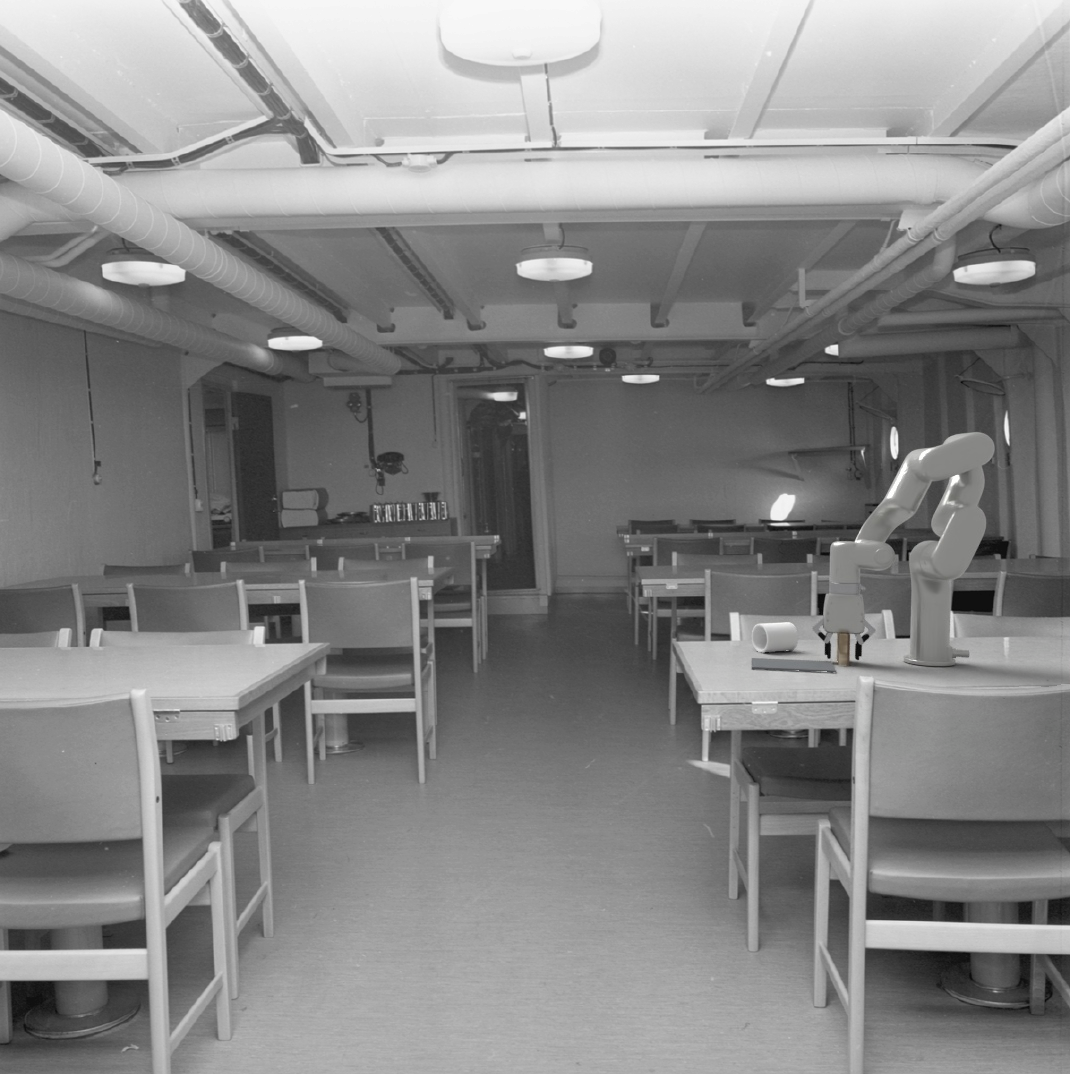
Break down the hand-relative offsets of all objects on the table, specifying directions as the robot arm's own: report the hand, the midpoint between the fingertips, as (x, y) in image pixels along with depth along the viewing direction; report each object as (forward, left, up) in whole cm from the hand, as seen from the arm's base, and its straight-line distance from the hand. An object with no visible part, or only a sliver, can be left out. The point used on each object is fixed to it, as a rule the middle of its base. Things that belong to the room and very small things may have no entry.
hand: (842, 658), depth 257 cm
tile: (0, 0, -1) cm, 1 cm away
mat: (+13, +9, -1) cm, 16 cm away
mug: (+18, -16, -2) cm, 24 cm away
